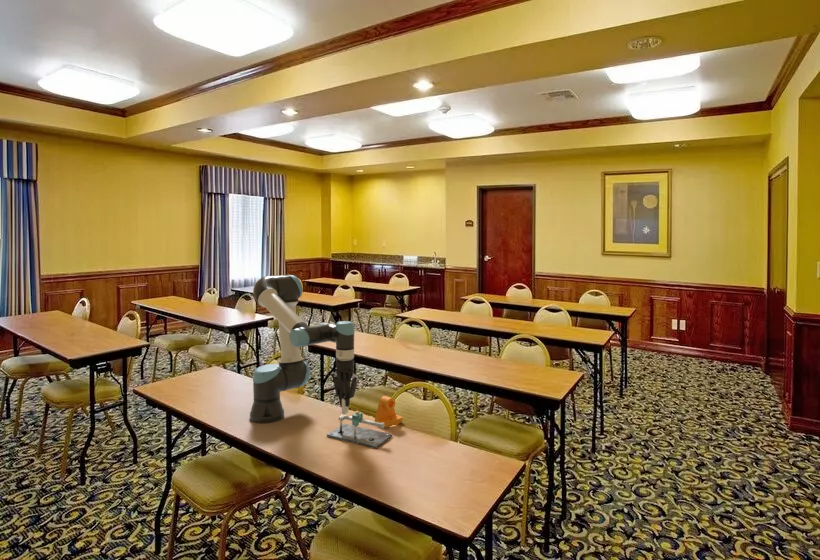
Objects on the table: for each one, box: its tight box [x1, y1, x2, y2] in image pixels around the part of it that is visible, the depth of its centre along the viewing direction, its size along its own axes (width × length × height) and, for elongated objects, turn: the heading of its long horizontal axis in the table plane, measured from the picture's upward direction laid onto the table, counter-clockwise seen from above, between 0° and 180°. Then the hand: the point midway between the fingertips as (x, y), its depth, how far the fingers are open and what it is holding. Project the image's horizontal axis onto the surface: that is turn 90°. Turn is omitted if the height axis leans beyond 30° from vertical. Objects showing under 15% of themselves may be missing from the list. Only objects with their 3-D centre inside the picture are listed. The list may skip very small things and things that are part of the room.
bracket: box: [374, 395, 403, 428], centre depth 213 cm, size 11×7×12 cm, turn 135°
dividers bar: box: [338, 414, 385, 433], centre depth 197 cm, size 21×3×7 cm, turn 63°
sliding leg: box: [351, 410, 364, 435], centre depth 198 cm, size 2×4×9 cm, turn 153°
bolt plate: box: [326, 423, 393, 450], centre depth 199 cm, size 24×13×1 cm, turn 63°
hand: (345, 413), depth 201 cm, fingers closed
